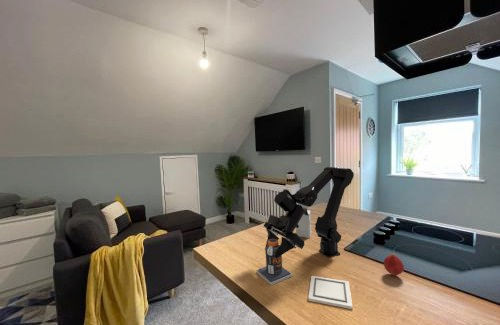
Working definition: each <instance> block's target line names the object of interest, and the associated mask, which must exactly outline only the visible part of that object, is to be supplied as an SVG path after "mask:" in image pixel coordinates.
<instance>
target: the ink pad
mask: <svg viewBox="0 0 500 325" xmlns="http://www.w3.org/2000/svg"><path fill="white" fill-rule="evenodd" d="M256 274H257V275H259V276H260V277H261V278H262V279H263V280H264V281H265V282H266V283H267V284H269V285H270V286H273V285H275V284H278V283H280V282H282V281H285V280H287V279H290V278H292V277H293V276H294V275H293V273H291V272H290V271H288V270H287V269H286V268H284V267H283V266H282V272H281V273H279V274H270V273H268V272H267V269H266V266H264V267H260V268H259V269H257V270H256Z"/></svg>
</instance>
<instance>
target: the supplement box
mask: <svg viewBox="0 0 500 325" xmlns="http://www.w3.org/2000/svg"><path fill="white" fill-rule="evenodd" d="M307 212H308V216H307V215H304V214H303V216H302V218H301V219H300V221H299V223H298V225H299V227H298V228H295V232H296V233H295V234H297V235H298V236H299V237H300V238H306V239H309V238H311V235H312V222H311V221H312V220H311V218H312V217H311V210H308V209H307Z"/></svg>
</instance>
